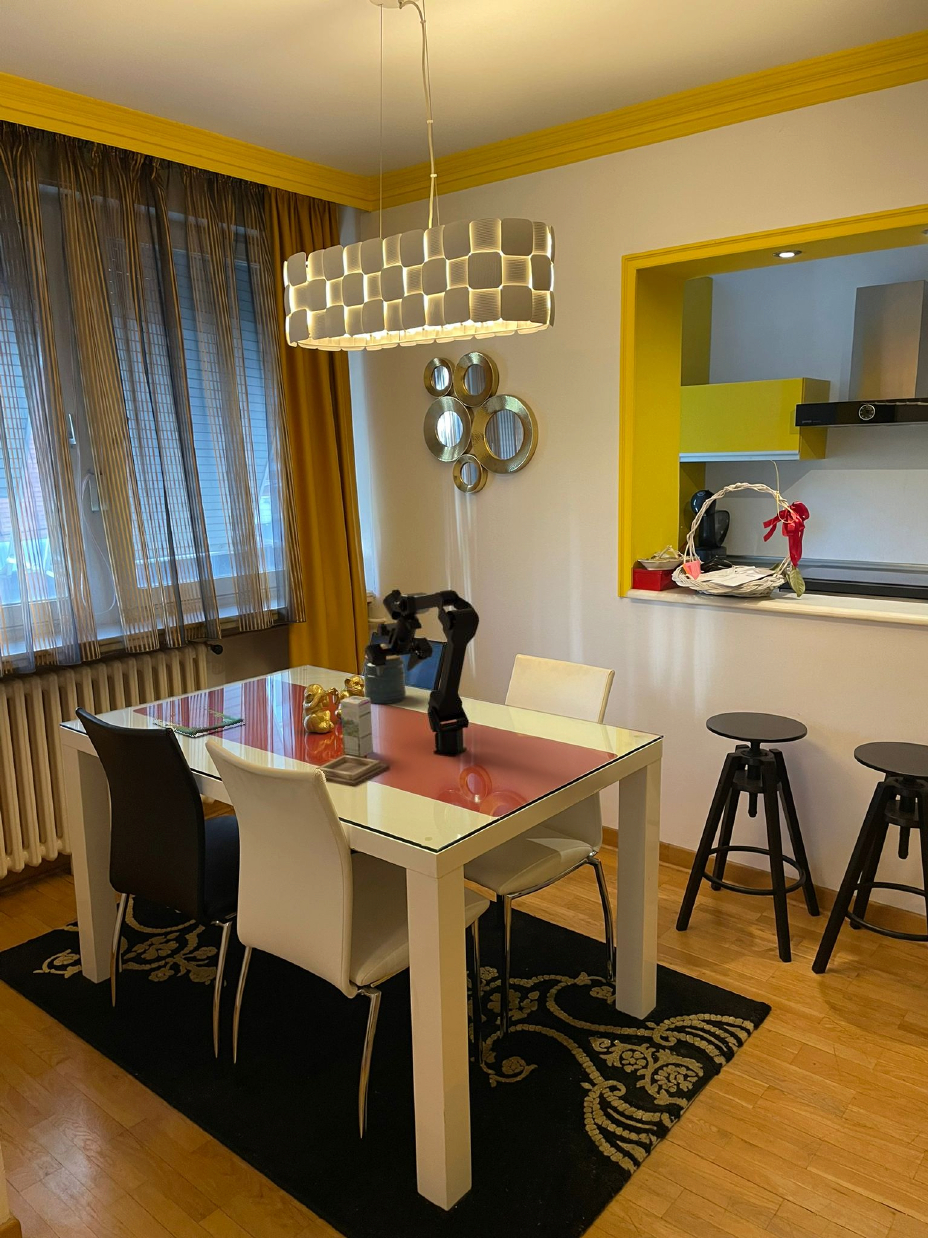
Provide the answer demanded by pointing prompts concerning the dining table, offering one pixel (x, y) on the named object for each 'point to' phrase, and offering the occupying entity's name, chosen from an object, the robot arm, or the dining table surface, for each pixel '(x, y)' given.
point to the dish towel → (206, 729)
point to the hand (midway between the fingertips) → (393, 672)
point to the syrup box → (356, 726)
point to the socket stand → (351, 770)
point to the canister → (385, 681)
